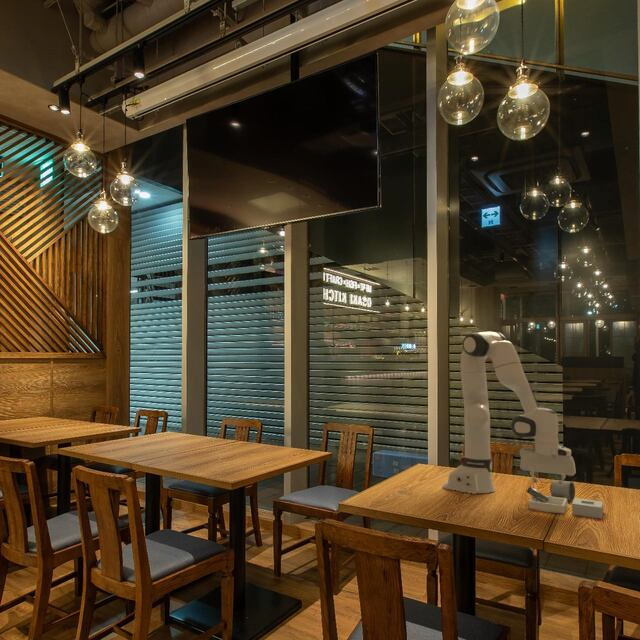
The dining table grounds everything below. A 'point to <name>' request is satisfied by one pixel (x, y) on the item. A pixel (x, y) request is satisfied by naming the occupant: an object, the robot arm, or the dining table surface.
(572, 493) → the ceramic mug
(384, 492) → the dining table surface
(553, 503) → the tray
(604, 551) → the dining table surface
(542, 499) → the pin
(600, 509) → the grey square socket block
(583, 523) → the dining table surface
